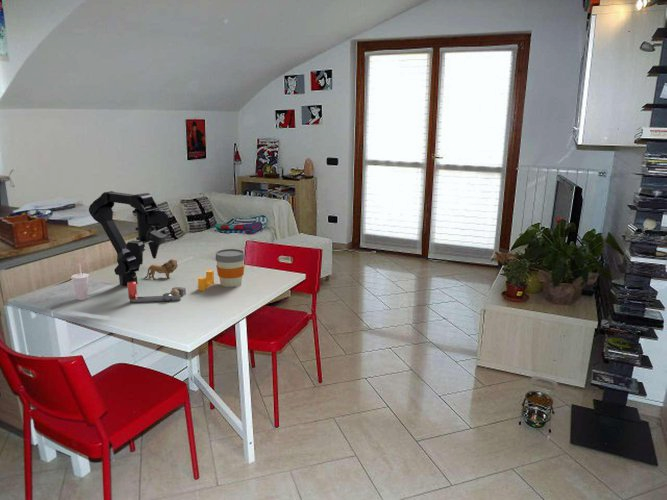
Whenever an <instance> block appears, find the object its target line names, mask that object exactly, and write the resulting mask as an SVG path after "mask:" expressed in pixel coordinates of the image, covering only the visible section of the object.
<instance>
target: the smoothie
mask: <svg viewBox="0 0 667 500" xmlns="http://www.w3.org/2000/svg"><path fill="white" fill-rule="evenodd" d="M78 266H79V267H78V268H79V273H75V274H73V275H71V278H70V279H71V280H72V285H73V287H74V292H75V295H76V298H77V300H78V301H85V300H87V299H88V297H89V278H90V275H89V273H84V272H83V273H82V265H81V264H79V265H78Z"/></svg>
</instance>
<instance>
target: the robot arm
mask: <svg viewBox="0 0 667 500" xmlns="http://www.w3.org/2000/svg"><path fill="white" fill-rule="evenodd" d="M115 203H117V204H125V205H129V206H130V207H132V208H133V210H132V214H136V222H137V226H136V227H135V229H134V230H135V231H137V235H138V236H137V237H135V239H136V240H134V239H133V240H131V241H128V242H126V241H125V239H124V237H123V236H122V233H121V232H120V230H119V228H118V227H117V225H116V223H115V221H114V219H113V218H114V217H113V216H114V212H113V208H114V206H115ZM88 213H89V214H90V216H91V217H92V219H93V220H94V221H96V222H97V223H99V224H100V225H101V227H102V228H103V230H104V233H105V234H106V236H107V238H108V240H109V241H110V243H111V244H112V247H113V248H114V250H115V252H116V254H117V256H116V262H117V266H116V267H115V268H114V274H115V276H116V275H117V276H118V280H119V285H121V286H122V287H128V286H127V282H130V281H136V285H138V283H139V282H138V276H137V272H139V270H140V266H141V265H143V264H144V263H143V257H144V252H145V251H146V248H145V247H146V245H147V244H148V247H149V249H150V250H149V251H150V253H151V256H152V259H157V255H158V250H159V247H160V245H162V244H164V243H165V242H166V239H168V238H169V236H168V230H166V229H162V230H161V231H160V230H157V228H156V227H158V228H166V227H167V226H168V225H169V222H170V217H169V216H168V214H167V213H166V212H165V210H164V209H160V208H159V206H158V204H157V202H156V201H155V199H154V198H153V196H152V194H151V193H148V192H144V193H136V194H133V193H127V192H126V193H123V192H119V191H118V192H117V191H113V190H111V191H105V192H102V193H101V195H100V196H98V198H96V199H95V200H94V201H93V202H92V203H90V205H89V207H88ZM165 244H166V243H165Z"/></svg>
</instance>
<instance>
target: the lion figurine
mask: <svg viewBox="0 0 667 500" xmlns="http://www.w3.org/2000/svg"><path fill="white" fill-rule="evenodd" d="M177 268H178V260H176V259H174V258H172V259H169V260H168V261H167V262H165V263H163V264H161V265H157V264H151V265H150V266H149V267H148V270H147V274H146V276H145V277H143V279H146V280H147V278H149V279H152V280H153V281H156V280H157V278H155V275H156V273H158V274H165V276H166V279H168V280H170V279H171V277H170V274H172V273H174V271H176V269H177Z"/></svg>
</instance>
